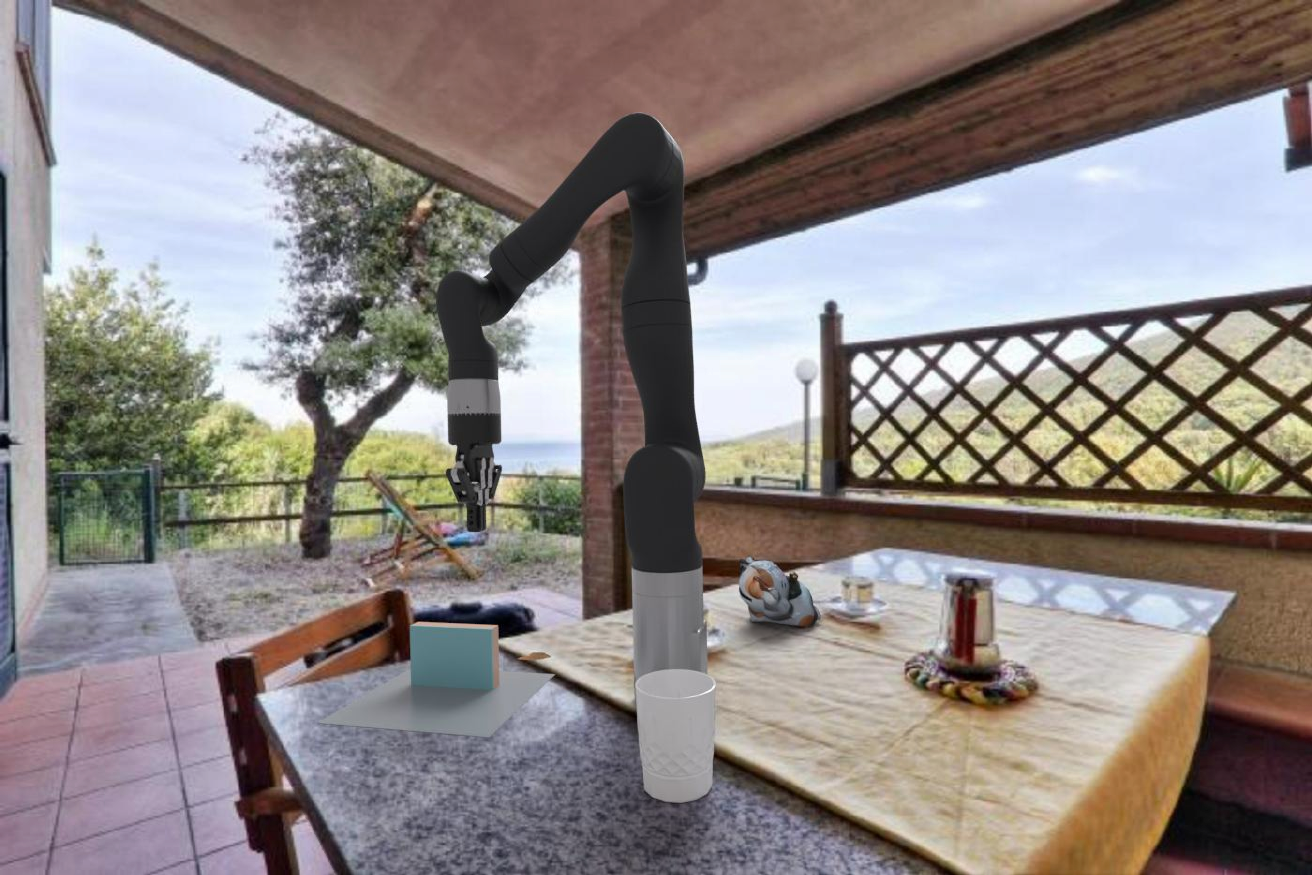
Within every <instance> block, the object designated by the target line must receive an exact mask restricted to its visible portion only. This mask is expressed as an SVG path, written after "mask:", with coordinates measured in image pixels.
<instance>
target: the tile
mask: <svg viewBox="0 0 1312 875" xmlns="http://www.w3.org/2000/svg"><path fill="white" fill-rule="evenodd" d="M499 644H500V642H499V625H498V624H479V623H478V624H477V623H476V624H475V623H455V622H454V623H453V622H451V623H449V622H430V621H416V622H415V623H413V624H411V625H409V648H410V650H409V651H410V653H409V654H410V668H411V685H421V686H436V687H452V688H467V689H482V690H494V689H495V688H496V687H497V686H498V685H499V671H500V658H499V657H500V653H499V652H500V650H499V648H500V646H499Z"/></svg>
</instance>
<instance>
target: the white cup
mask: <svg viewBox="0 0 1312 875" xmlns="http://www.w3.org/2000/svg"><path fill="white" fill-rule="evenodd" d="M635 690H636V701H635V704H636V716H637V717H636V721H637V722H636V723H637V732H638V746H639V759H640V761H641V768H642V781H643V790H644V792H646V793H647V794H648V795H649V796H650V797H651V798H653V799H656V800H659V801H662V802H666V803H676V804H677V803H679V804H682V803H689V802H692V801H693V802H694V801H697V800H699V799H701V798H702V797H704V796H706V795H708V793H709V791H710V790H711V788H712V786H713V769H714V768H713V760H714V755H715V735H716V734H715V733H716V703H717V702H716V698H717V697H716V695H717V693H716V692H717V691H716V690H717V683H716V680H715V679H714V678H713V677H712V676H710V675H709V674H708V675H707V674H705V673H702V672H698V671H693V670H685V669H668V670H660V671H655V672H651V673H648V674H645V675H643V676H642V677H640V678H639V679H638V680H637V681H636V683H635Z"/></svg>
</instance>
